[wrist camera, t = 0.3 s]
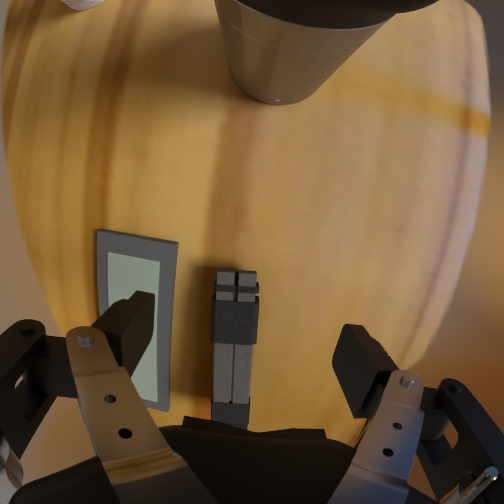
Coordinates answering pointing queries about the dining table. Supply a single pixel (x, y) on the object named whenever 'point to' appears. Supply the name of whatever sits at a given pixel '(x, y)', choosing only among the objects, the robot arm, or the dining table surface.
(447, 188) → the dining table surface
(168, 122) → the dining table surface
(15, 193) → the dining table surface
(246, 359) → the gun
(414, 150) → the dining table surface
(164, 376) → the charging mat
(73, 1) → the bottle
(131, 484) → the robot arm
